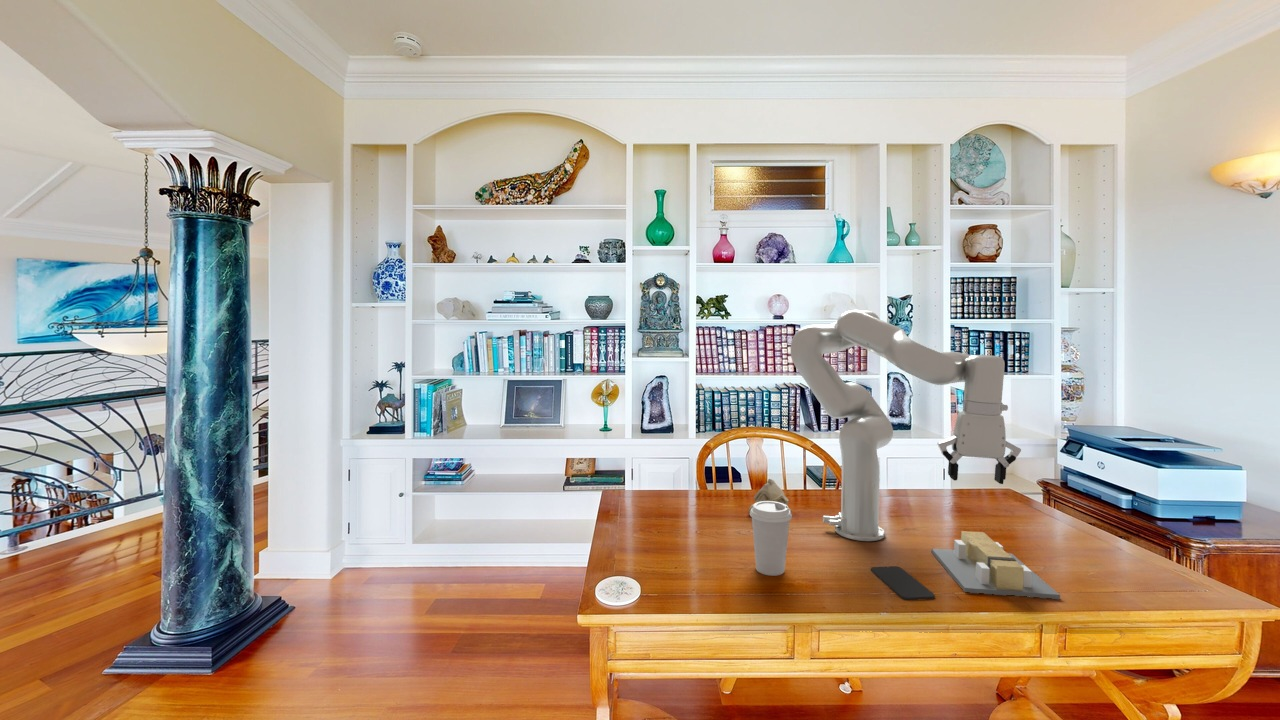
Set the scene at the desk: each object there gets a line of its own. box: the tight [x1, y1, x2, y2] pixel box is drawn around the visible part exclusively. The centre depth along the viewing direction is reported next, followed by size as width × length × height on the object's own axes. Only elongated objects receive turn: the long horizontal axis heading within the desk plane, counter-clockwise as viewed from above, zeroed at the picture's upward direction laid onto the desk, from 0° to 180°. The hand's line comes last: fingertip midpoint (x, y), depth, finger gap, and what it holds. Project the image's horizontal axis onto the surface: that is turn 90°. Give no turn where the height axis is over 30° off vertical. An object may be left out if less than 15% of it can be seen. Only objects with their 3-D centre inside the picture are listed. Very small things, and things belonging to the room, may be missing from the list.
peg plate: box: [931, 539, 1061, 600], centre depth 126 cm, size 18×21×4 cm
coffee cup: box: [749, 501, 793, 577], centre depth 129 cm, size 10×10×15 cm
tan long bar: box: [960, 530, 1024, 591], centre depth 126 cm, size 20×5×5 cm, turn 169°
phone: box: [870, 565, 936, 601], centre depth 122 cm, size 7×1×15 cm
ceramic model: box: [748, 478, 792, 513], centre depth 169 cm, size 14×11×10 cm
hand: (975, 480), depth 130 cm, fingers open, 9 cm apart
